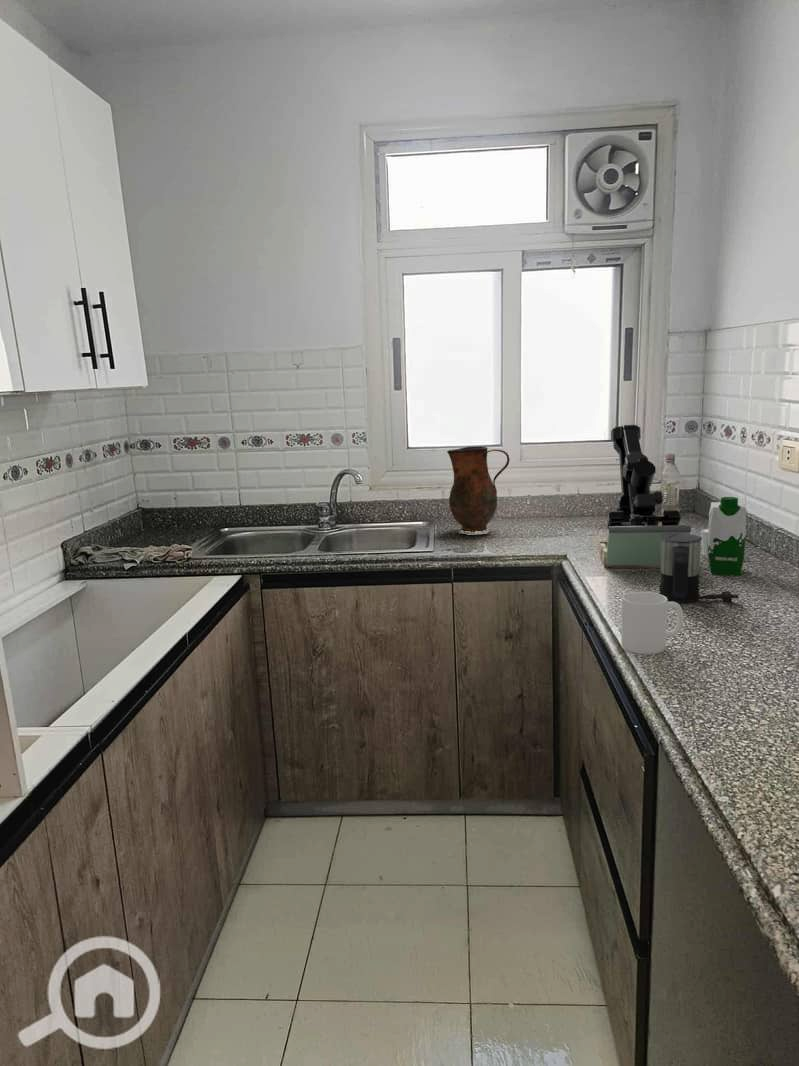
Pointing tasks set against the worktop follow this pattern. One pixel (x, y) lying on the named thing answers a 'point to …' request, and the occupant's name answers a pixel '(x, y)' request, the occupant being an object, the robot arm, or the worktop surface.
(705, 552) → the shot glass
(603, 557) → the beige open tray
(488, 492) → the pitcher
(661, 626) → the cup
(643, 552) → the sage green panel
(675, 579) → the milk frother
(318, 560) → the worktop surface
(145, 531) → the worktop surface
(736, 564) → the milk carton
